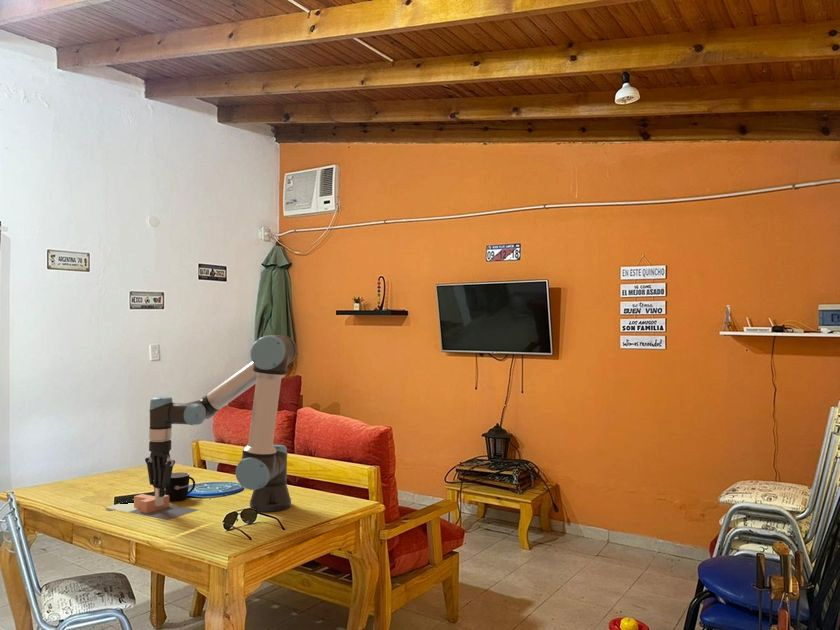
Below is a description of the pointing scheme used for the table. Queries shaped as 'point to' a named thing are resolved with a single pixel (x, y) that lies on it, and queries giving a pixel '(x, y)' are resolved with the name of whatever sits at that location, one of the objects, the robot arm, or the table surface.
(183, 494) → the mug
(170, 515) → the mat
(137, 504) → the t block
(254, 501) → the robot arm
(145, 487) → the table surface
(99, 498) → the table surface
